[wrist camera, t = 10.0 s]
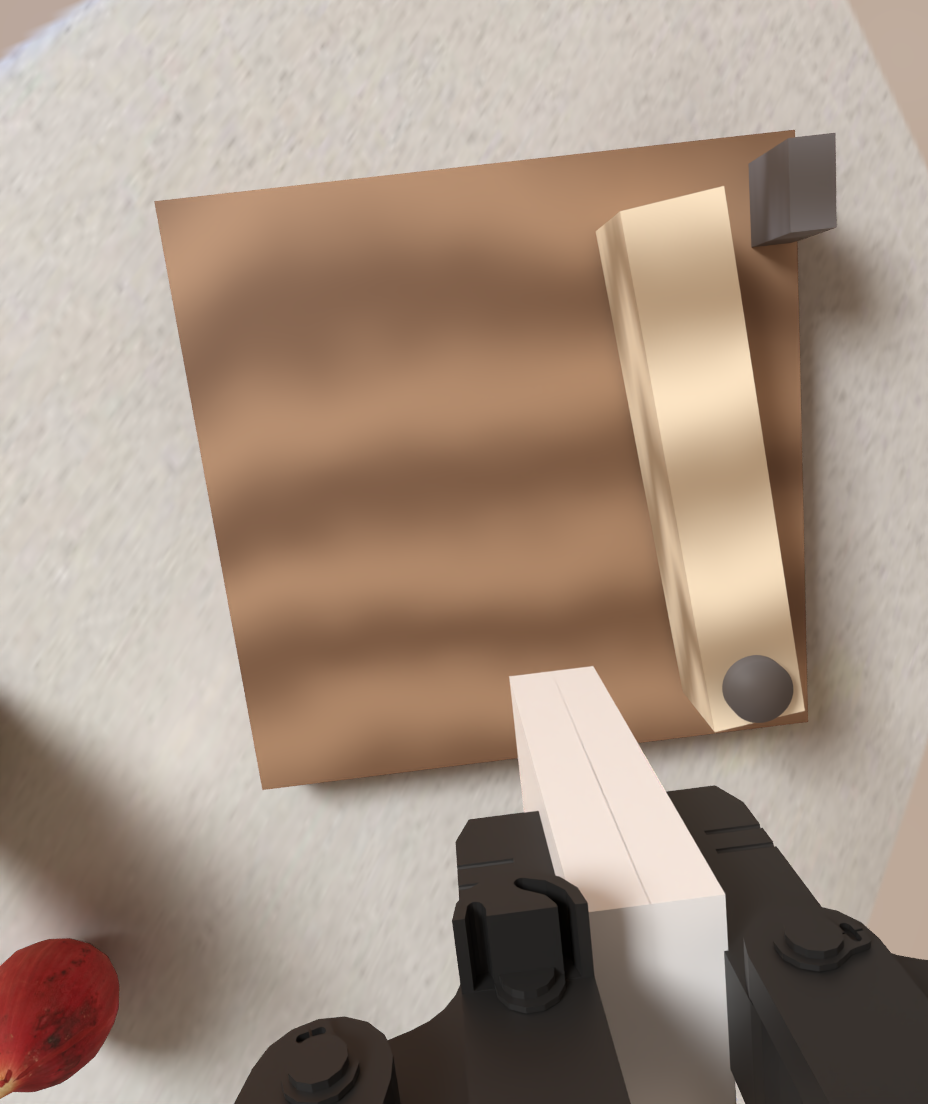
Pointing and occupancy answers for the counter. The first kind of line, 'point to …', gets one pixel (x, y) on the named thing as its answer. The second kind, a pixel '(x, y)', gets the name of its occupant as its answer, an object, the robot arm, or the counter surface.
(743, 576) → the folding leg
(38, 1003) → the onion
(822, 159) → the brown flat square block
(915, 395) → the counter surface
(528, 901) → the robot arm
